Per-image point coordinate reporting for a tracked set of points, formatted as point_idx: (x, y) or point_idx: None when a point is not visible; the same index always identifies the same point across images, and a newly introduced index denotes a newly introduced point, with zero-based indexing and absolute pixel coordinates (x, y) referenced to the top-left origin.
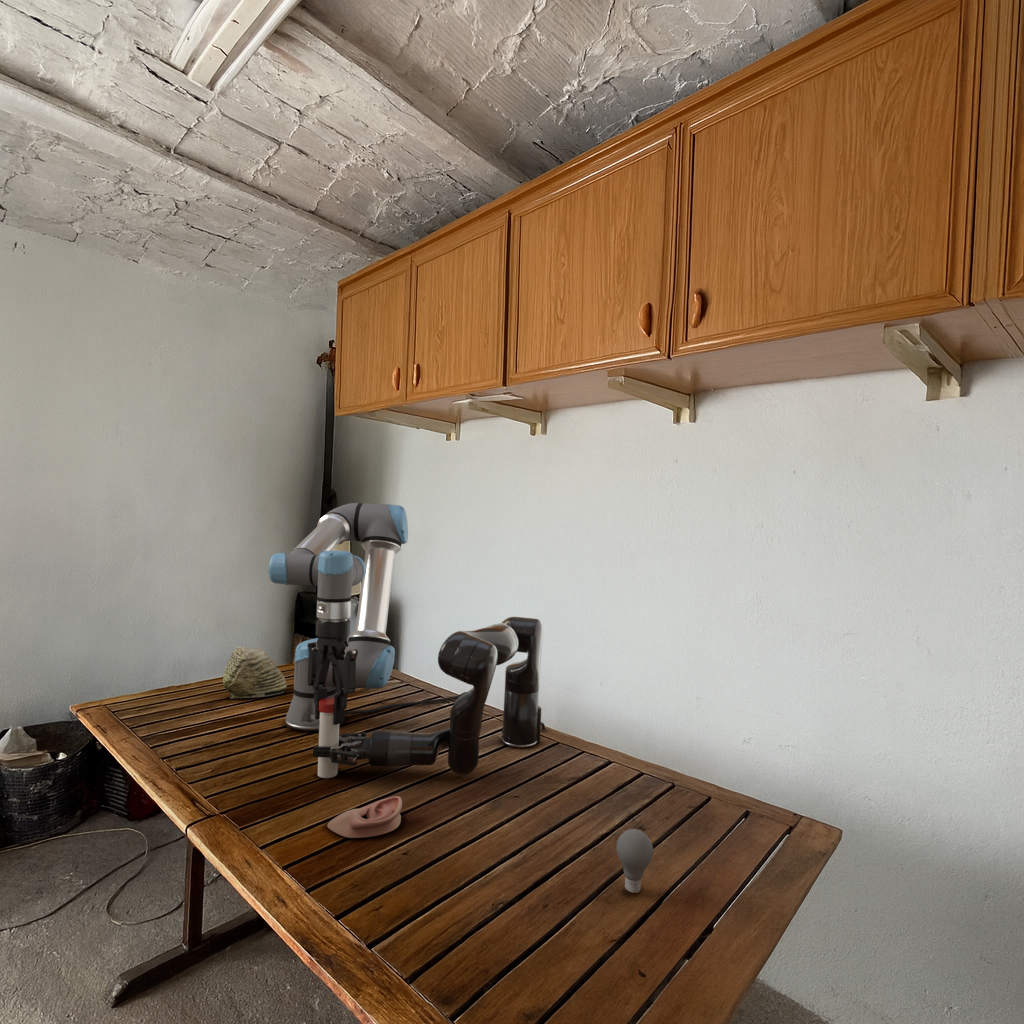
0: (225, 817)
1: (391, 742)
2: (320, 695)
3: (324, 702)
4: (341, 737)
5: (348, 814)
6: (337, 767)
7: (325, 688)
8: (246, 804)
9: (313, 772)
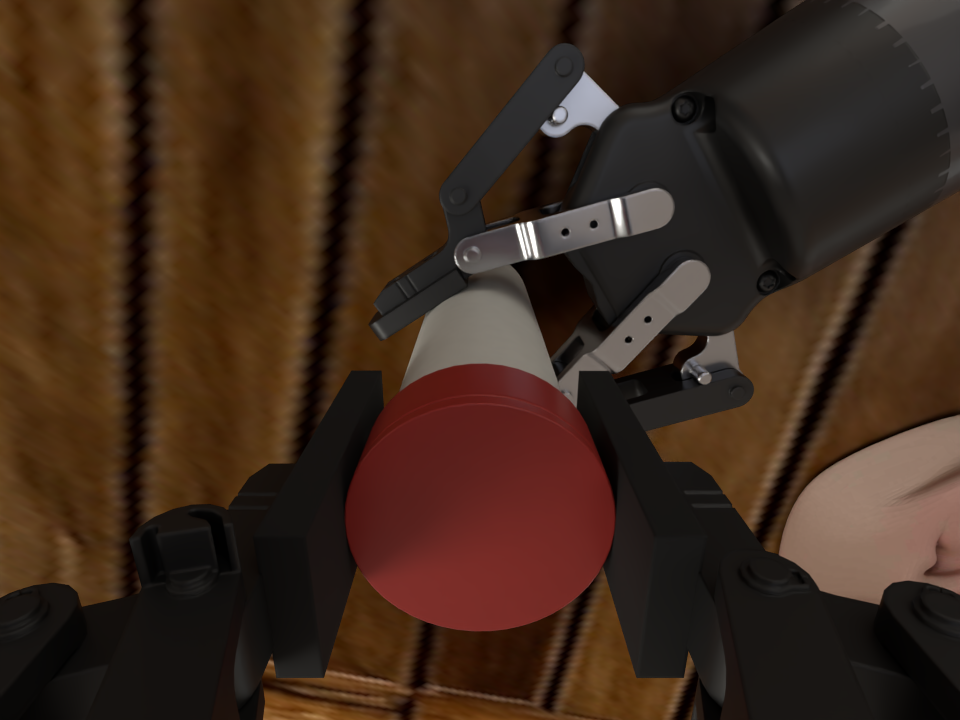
0: (450, 694)
1: (954, 187)
2: (335, 592)
3: (468, 595)
4: (487, 244)
5: (869, 585)
6: (523, 285)
7: (277, 544)
8: (430, 624)
9: (412, 326)
